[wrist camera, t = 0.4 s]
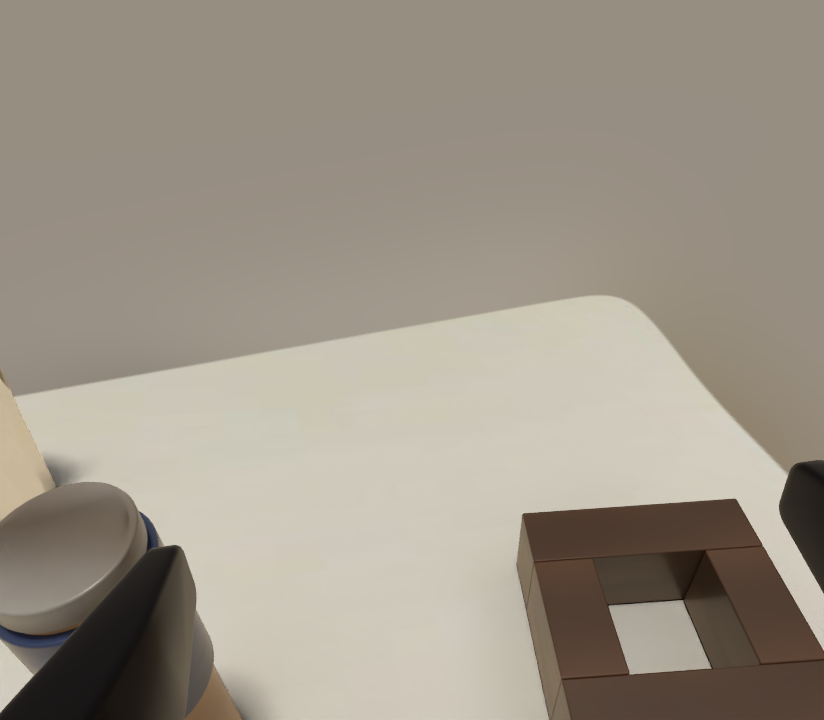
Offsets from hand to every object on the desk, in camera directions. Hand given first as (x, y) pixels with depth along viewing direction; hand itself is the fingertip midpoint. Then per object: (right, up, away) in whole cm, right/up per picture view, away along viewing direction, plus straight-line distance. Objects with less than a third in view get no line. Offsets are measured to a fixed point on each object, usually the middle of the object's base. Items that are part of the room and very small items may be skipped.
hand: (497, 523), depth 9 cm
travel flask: (-9, -11, +12) cm, 19 cm away
